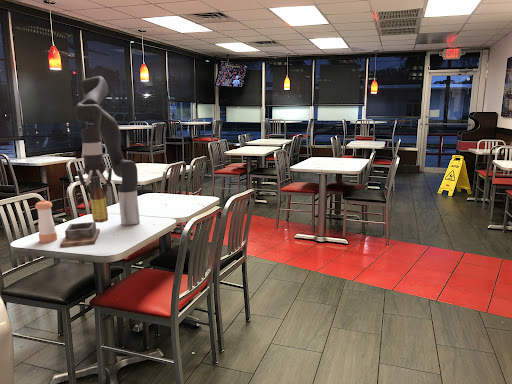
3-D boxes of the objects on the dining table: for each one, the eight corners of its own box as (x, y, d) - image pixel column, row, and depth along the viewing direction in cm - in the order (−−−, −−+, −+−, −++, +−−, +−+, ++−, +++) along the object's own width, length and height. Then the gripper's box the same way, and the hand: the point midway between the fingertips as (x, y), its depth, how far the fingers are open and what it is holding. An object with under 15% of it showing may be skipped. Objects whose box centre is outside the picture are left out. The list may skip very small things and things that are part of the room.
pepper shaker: (52, 236, 194) (47, 197, 190) (59, 239, 190) (54, 199, 186) (36, 240, 189) (31, 200, 185) (43, 243, 184) (38, 202, 180)
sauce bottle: (99, 218, 180) (94, 174, 176) (111, 219, 178) (106, 174, 174) (89, 223, 174) (83, 177, 170) (102, 223, 172) (96, 177, 168)
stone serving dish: (99, 231, 201) (98, 220, 200) (94, 243, 182) (93, 231, 181) (69, 234, 197) (67, 223, 196) (60, 247, 178) (59, 235, 177)
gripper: (111, 151, 175) (115, 190, 179) (75, 153, 172) (80, 192, 175) (110, 153, 168) (114, 193, 171) (72, 155, 165) (77, 196, 168)
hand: (97, 192), depth 173 cm, fingers closed on sauce bottle, 5 cm apart
